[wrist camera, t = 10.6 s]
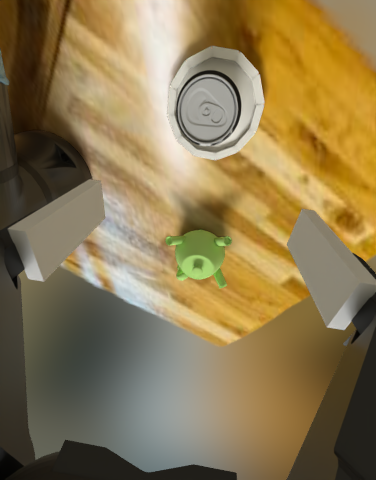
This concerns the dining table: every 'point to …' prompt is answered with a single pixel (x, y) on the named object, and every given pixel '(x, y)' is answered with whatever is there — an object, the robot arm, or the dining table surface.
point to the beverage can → (208, 108)
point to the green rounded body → (200, 255)
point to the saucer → (247, 86)
